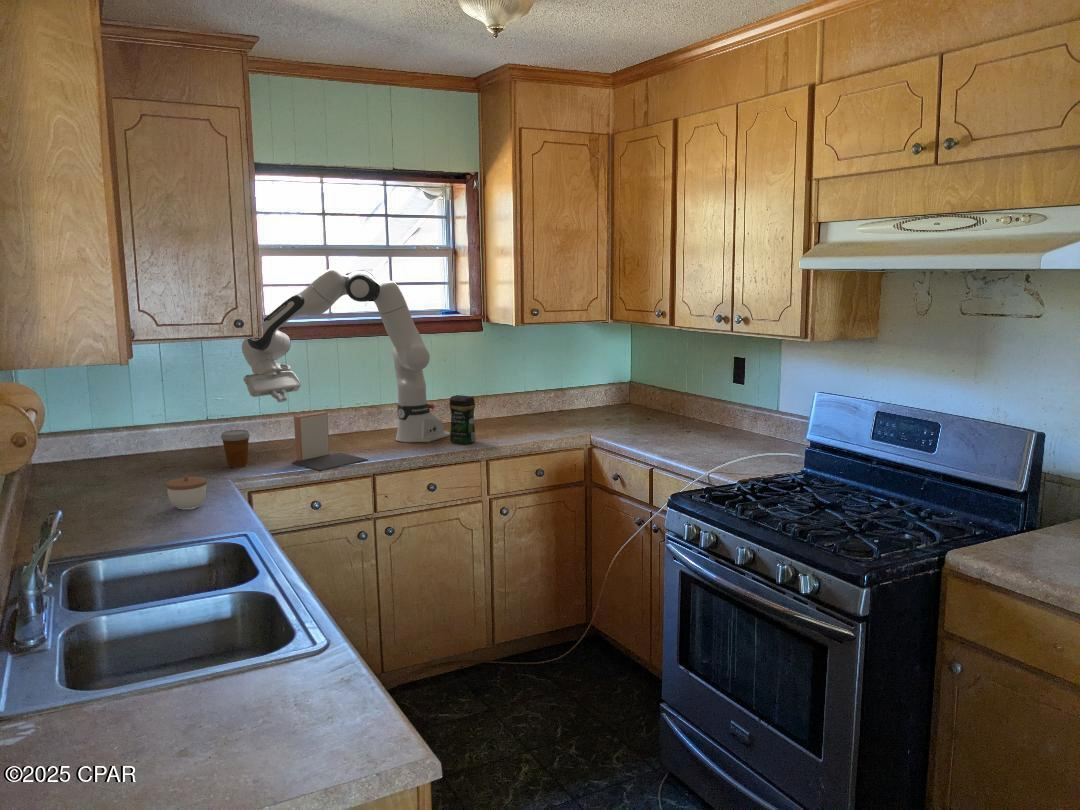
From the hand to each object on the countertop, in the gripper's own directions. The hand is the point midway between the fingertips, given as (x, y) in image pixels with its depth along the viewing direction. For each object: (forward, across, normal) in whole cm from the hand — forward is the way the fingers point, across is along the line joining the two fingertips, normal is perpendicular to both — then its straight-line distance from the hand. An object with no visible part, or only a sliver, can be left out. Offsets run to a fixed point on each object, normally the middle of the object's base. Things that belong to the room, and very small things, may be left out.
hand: (282, 401), depth 310 cm
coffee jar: (+43, +52, -16) cm, 69 cm away
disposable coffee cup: (+19, -24, +8) cm, 32 cm away
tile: (+26, 0, +1) cm, 26 cm away
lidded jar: (+44, -59, -17) cm, 76 cm away
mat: (+34, 0, -7) cm, 34 cm away
